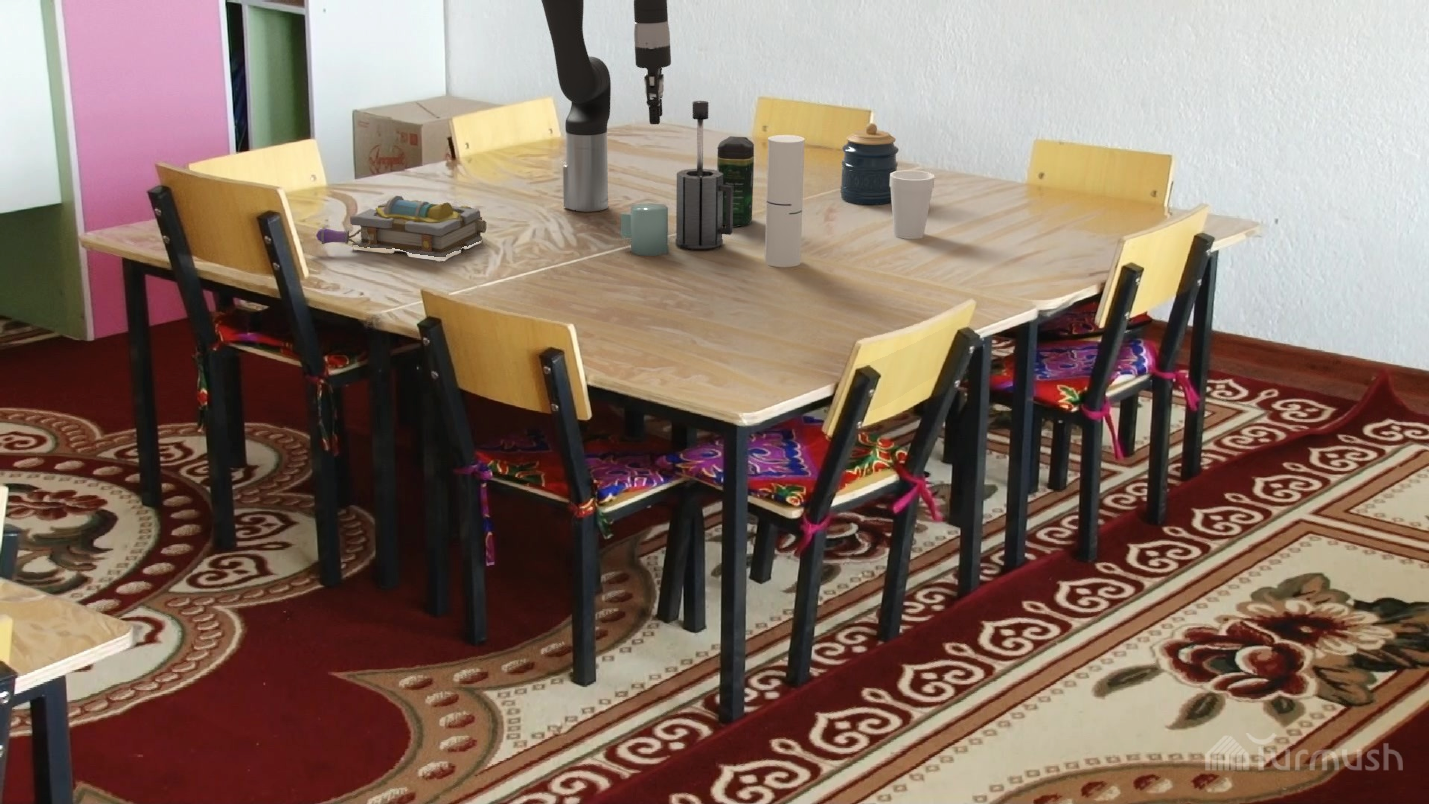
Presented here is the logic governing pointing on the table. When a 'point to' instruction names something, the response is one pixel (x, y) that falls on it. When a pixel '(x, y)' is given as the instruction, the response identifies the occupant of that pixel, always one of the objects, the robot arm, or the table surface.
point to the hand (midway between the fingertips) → (656, 120)
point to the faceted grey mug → (702, 210)
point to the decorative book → (413, 227)
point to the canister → (868, 166)
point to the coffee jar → (737, 176)
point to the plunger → (700, 131)
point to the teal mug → (646, 229)
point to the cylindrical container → (784, 200)
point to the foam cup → (910, 202)
